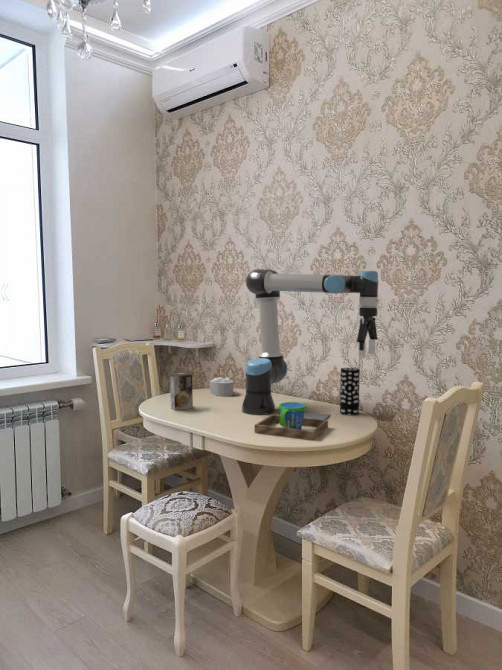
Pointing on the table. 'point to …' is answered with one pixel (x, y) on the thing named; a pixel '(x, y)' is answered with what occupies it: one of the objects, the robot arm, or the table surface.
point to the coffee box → (181, 391)
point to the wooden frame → (287, 432)
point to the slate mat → (316, 415)
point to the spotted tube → (349, 391)
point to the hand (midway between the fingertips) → (366, 356)
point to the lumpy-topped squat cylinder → (221, 386)
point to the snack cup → (291, 415)
